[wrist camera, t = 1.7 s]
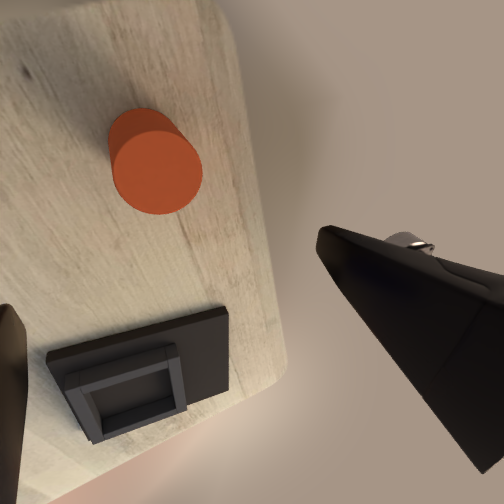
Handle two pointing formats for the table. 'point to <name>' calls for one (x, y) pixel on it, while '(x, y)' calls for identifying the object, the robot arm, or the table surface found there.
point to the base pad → (143, 373)
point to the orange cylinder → (153, 162)
